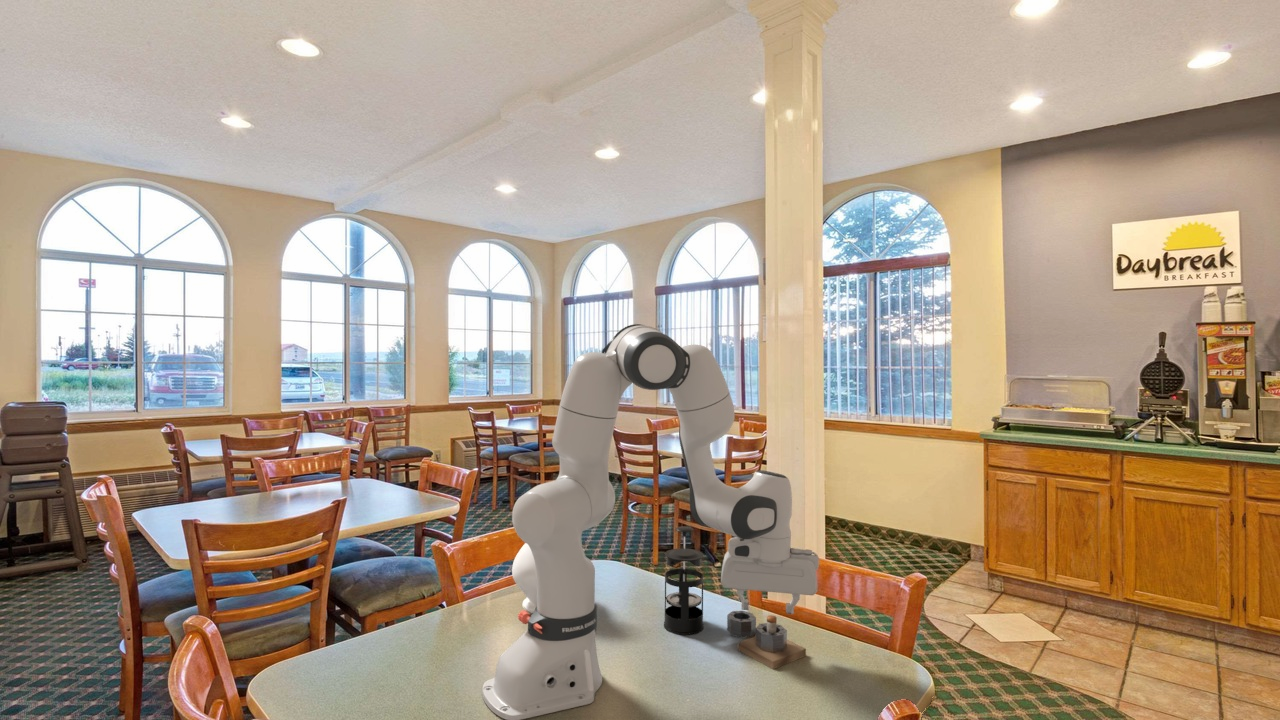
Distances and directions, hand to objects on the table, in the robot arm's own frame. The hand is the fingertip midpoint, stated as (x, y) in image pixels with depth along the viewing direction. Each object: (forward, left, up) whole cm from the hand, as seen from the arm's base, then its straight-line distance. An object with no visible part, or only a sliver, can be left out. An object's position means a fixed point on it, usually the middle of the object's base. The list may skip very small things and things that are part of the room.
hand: (767, 610), depth 129 cm
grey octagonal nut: (0, -1, -7) cm, 7 cm away
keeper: (0, -1, -9) cm, 9 cm away
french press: (-7, +20, -9) cm, 23 cm away
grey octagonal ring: (+2, +10, -9) cm, 13 cm away
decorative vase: (-28, +49, -9) cm, 57 cm away
